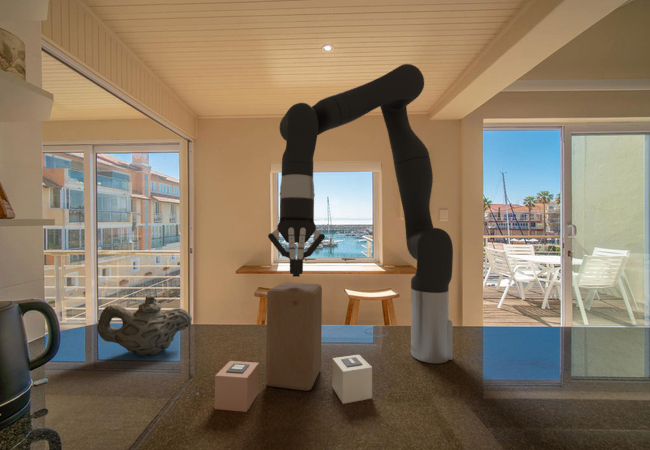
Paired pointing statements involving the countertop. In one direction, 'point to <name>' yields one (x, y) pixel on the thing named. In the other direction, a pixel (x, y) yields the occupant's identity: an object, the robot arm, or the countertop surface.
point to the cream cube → (351, 378)
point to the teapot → (143, 326)
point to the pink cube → (236, 386)
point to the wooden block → (293, 335)
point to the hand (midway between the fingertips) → (296, 276)
